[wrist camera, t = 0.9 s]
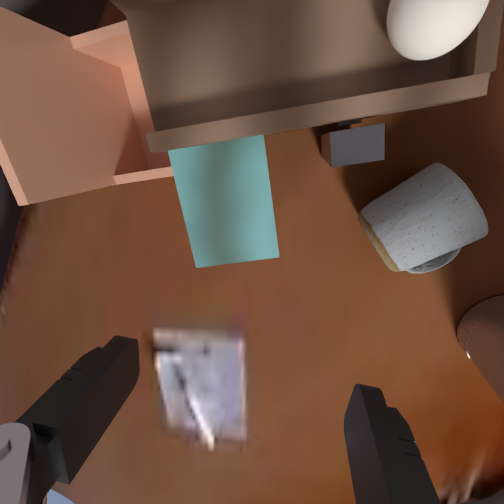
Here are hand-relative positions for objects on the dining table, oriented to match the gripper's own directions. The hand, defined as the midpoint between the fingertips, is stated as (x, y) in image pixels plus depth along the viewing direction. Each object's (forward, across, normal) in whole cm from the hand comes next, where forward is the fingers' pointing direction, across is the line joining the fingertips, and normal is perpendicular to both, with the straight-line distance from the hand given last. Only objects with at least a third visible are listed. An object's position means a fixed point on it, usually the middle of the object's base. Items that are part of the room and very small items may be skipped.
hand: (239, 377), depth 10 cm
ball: (+9, -6, -15) cm, 18 cm away
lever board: (+19, -1, -9) cm, 21 cm away
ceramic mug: (+23, -14, -2) cm, 27 cm away
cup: (+24, +12, -10) cm, 28 cm away
